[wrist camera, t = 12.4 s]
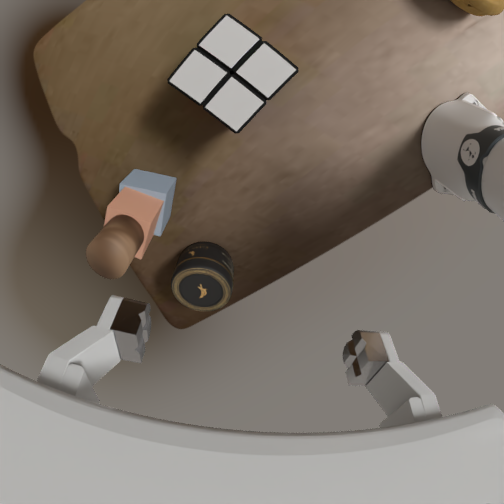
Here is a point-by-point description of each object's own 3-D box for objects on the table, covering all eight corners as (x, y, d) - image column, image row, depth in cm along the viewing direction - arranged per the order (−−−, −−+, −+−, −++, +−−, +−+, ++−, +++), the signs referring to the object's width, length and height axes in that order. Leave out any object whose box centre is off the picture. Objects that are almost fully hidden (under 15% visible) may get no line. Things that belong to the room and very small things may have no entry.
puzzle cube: (241, 120, 38) (237, 135, 30) (185, 78, 34) (164, 82, 26) (290, 69, 34) (301, 69, 25) (233, 25, 30) (226, 11, 22)
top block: (164, 201, 39) (151, 223, 34) (153, 235, 42) (141, 259, 37) (125, 186, 37) (107, 206, 32) (117, 221, 41) (101, 243, 36)
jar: (220, 230, 48) (215, 258, 42) (243, 274, 54) (242, 304, 48) (169, 248, 51) (158, 276, 44) (195, 288, 56) (188, 318, 50)
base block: (176, 177, 43) (166, 193, 38) (170, 216, 47) (160, 236, 42) (134, 168, 42) (119, 183, 37) (130, 207, 46) (117, 225, 41)
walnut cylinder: (146, 220, 34) (128, 247, 29) (141, 255, 36) (125, 284, 31) (108, 209, 33) (85, 234, 28) (106, 244, 36) (86, 271, 30)
